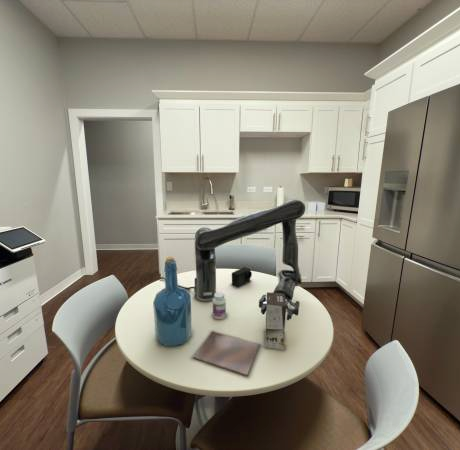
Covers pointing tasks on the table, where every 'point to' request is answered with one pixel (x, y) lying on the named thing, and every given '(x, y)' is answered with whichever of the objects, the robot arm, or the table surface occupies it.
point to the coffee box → (275, 320)
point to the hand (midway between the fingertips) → (275, 315)
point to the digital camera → (241, 277)
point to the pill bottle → (219, 305)
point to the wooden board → (228, 353)
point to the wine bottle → (172, 309)
